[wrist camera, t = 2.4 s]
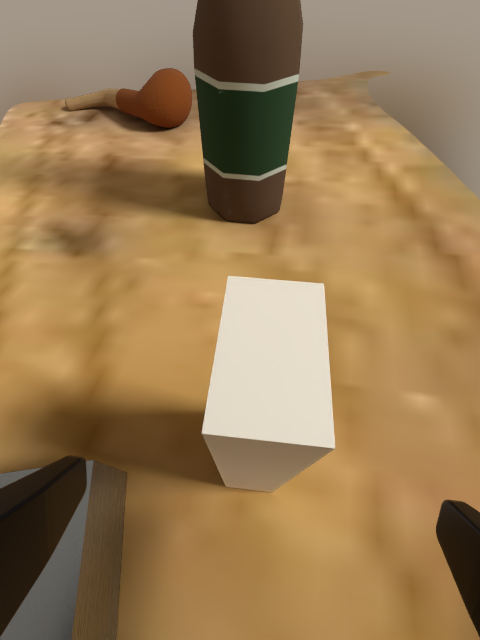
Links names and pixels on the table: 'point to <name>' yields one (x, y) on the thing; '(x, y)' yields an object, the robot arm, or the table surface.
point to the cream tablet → (269, 383)
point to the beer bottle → (246, 101)
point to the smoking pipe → (146, 99)
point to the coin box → (78, 567)
